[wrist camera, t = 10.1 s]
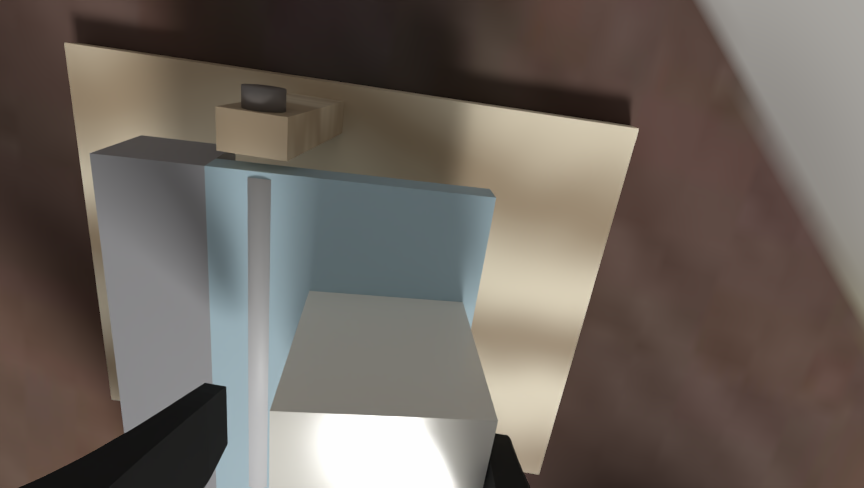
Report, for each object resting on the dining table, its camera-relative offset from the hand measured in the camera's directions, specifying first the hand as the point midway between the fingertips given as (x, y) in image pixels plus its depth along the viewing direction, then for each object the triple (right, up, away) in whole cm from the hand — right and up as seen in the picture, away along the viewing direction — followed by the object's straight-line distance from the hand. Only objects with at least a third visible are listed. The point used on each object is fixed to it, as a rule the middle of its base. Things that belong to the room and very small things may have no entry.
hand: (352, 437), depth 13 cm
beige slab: (-2, +4, +9) cm, 10 cm away
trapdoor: (-3, +3, +6) cm, 7 cm away
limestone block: (0, +1, +3) cm, 4 cm away
